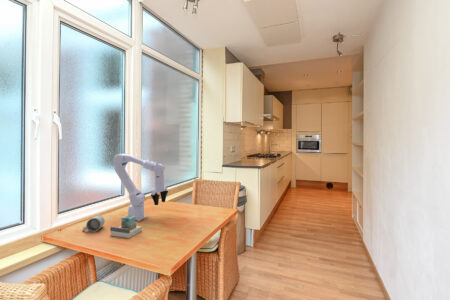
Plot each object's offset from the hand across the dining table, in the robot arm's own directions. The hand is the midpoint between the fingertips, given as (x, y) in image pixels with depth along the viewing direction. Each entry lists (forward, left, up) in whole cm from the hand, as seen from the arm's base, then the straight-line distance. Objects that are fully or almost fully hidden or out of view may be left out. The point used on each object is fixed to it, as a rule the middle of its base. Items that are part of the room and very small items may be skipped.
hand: (160, 203), depth 150 cm
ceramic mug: (-26, -27, -10) cm, 39 cm away
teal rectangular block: (-4, -25, -7) cm, 26 cm away
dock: (-4, -26, -10) cm, 28 cm away
